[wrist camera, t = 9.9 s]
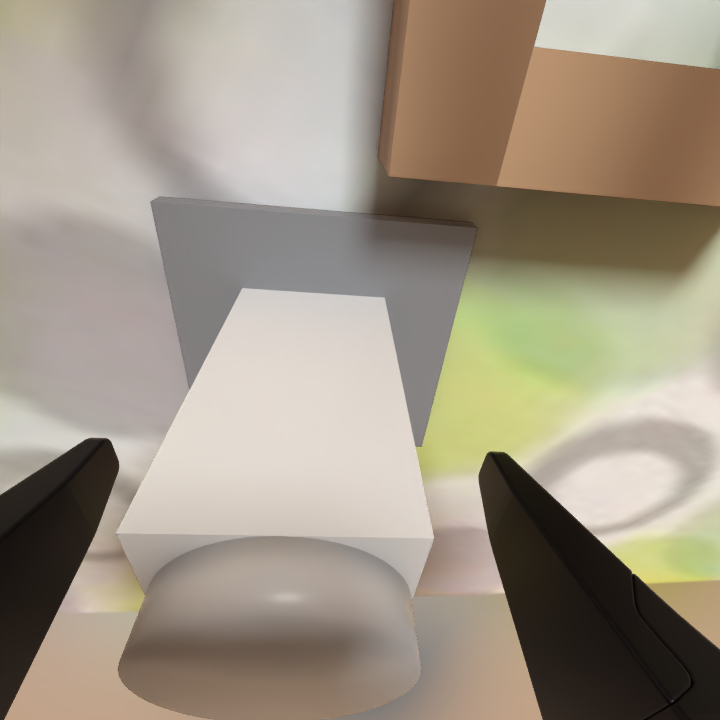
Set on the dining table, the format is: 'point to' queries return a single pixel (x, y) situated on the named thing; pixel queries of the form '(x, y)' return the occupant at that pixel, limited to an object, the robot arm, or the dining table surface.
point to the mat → (317, 274)
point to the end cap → (282, 522)
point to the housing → (541, 109)
